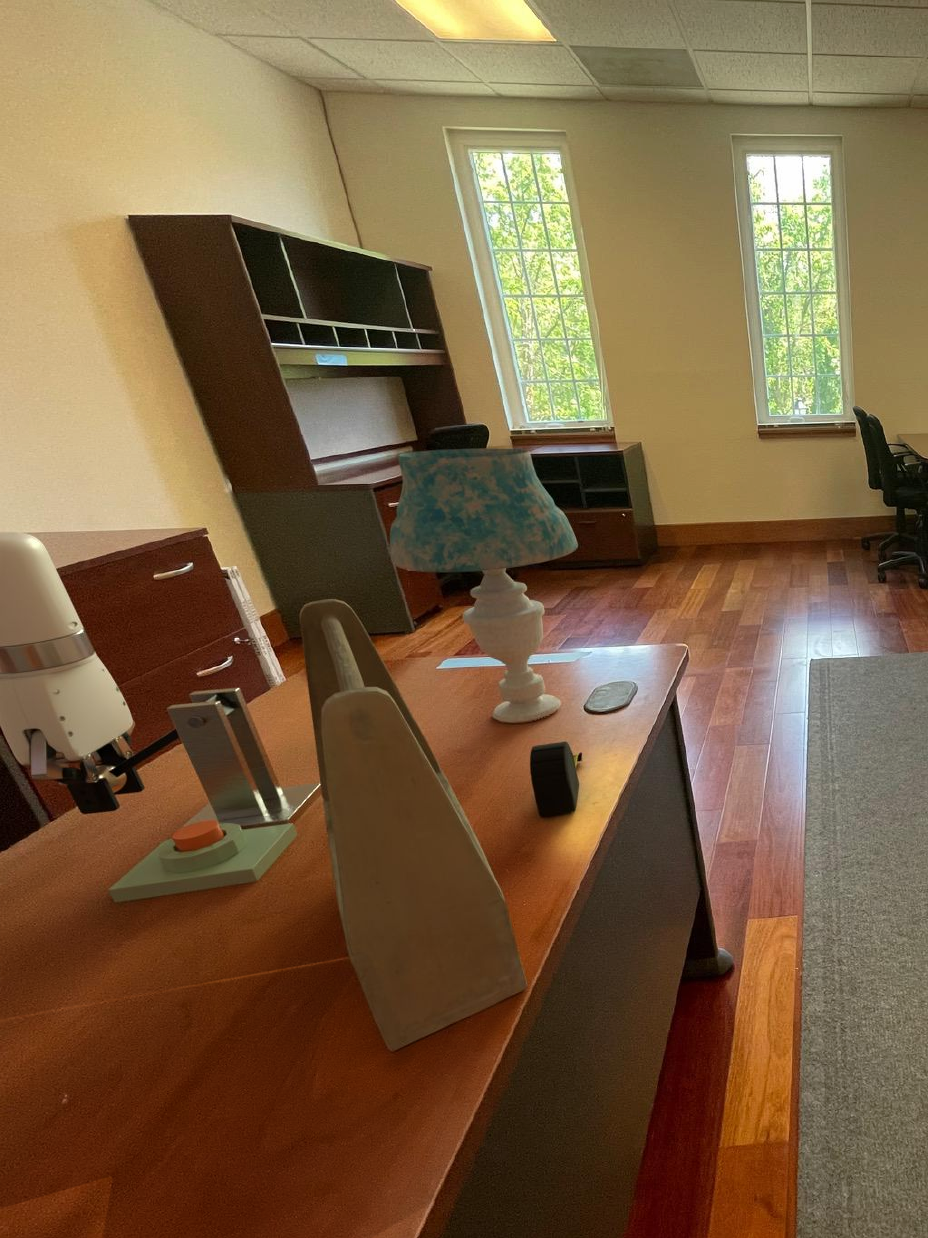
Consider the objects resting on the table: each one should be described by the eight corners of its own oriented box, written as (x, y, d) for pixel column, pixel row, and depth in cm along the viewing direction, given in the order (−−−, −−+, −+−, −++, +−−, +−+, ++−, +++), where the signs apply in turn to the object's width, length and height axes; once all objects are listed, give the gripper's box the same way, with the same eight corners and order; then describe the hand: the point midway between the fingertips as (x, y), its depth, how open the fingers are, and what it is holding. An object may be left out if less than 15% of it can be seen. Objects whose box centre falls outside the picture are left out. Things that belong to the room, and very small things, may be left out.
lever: (95, 805, 80) (64, 785, 79) (116, 790, 83) (86, 770, 82) (226, 721, 81) (197, 700, 80) (242, 709, 84) (215, 688, 82)
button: (170, 855, 75) (163, 841, 74) (191, 836, 78) (184, 823, 77) (212, 849, 76) (206, 836, 75) (231, 831, 79) (225, 817, 78)
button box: (114, 903, 72) (99, 875, 71) (171, 852, 80) (157, 826, 79) (257, 881, 76) (245, 854, 74) (298, 835, 84) (287, 809, 82)
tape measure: (576, 814, 88) (563, 757, 85) (537, 821, 87) (523, 763, 83) (583, 761, 100) (573, 709, 97) (549, 766, 99) (537, 714, 96)
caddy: (533, 989, 63) (444, 672, 51) (386, 1057, 56) (244, 713, 44) (464, 841, 83) (388, 590, 71) (350, 879, 76) (245, 609, 64)
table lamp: (456, 695, 121) (386, 448, 105) (607, 676, 130) (563, 444, 114) (426, 757, 101) (335, 463, 85) (607, 729, 110) (555, 457, 94)
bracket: (176, 843, 82) (115, 719, 76) (221, 803, 90) (169, 688, 83) (291, 827, 85) (241, 707, 79) (324, 790, 93) (282, 678, 86)
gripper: (54, 631, 81) (123, 772, 89) (-83, 685, 67) (13, 847, 74) (137, 626, 83) (198, 764, 91) (21, 677, 69) (105, 836, 76)
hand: (114, 800), depth 82 cm, fingers closed on lever, 3 cm apart
